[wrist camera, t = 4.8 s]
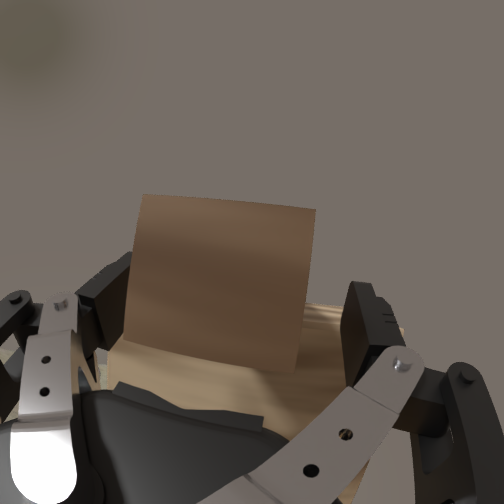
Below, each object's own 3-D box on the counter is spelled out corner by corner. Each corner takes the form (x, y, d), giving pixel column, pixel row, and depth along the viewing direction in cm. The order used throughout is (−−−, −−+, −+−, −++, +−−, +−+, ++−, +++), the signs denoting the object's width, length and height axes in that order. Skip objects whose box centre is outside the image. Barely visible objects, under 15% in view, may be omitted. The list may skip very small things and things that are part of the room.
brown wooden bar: (293, 374, 6) (316, 209, 6) (123, 339, 6) (143, 194, 6) (285, 300, 33) (289, 270, 34) (251, 295, 34) (255, 266, 34)
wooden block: (295, 593, 12) (404, 329, 15) (132, 561, 14) (112, 288, 17) (296, 507, 29) (343, 307, 32) (178, 487, 32) (194, 287, 35)
